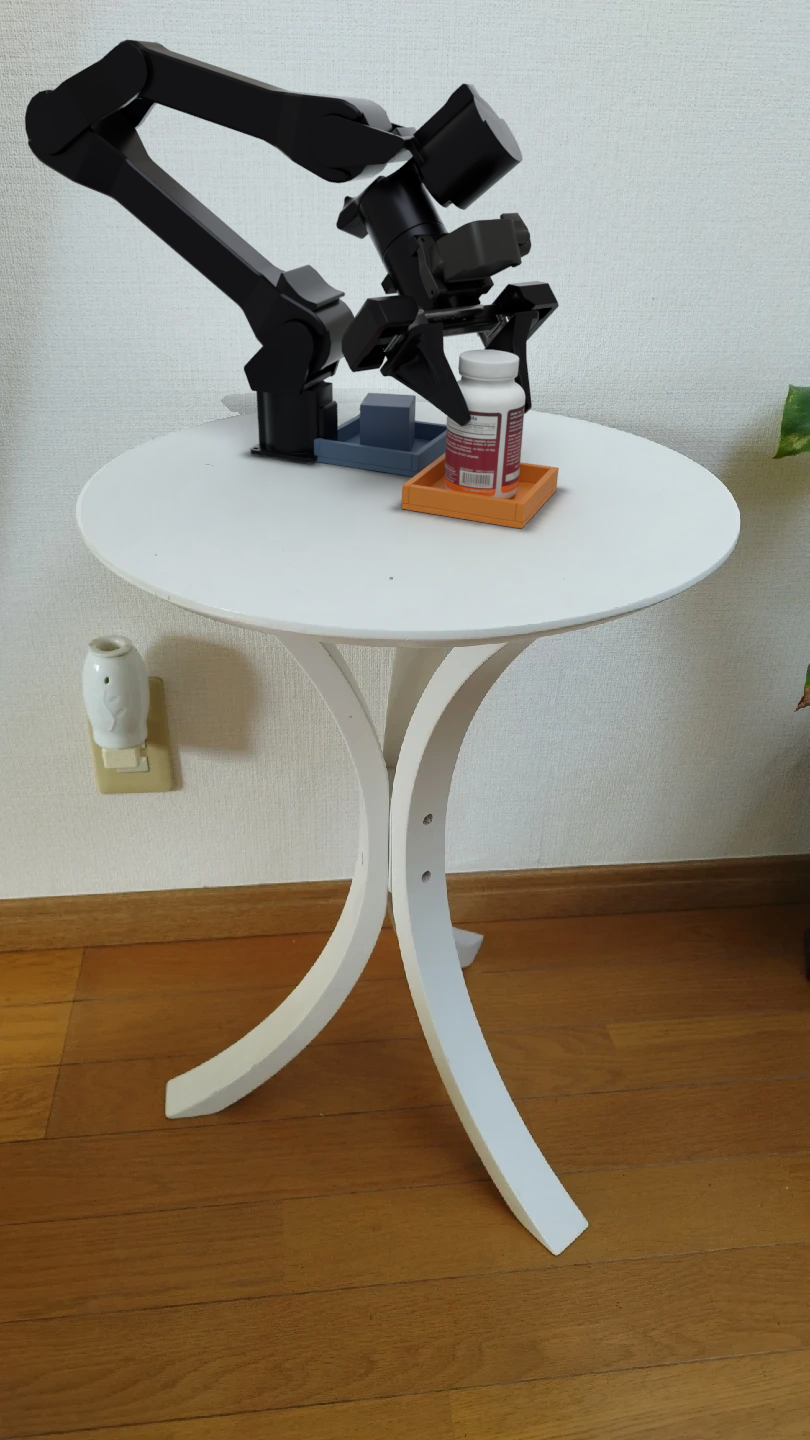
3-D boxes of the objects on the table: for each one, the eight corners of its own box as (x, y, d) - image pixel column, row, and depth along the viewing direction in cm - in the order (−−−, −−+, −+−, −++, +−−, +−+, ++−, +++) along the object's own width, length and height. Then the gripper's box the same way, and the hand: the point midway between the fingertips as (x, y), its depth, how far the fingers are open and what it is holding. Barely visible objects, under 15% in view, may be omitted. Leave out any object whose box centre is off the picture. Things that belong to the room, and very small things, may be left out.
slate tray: (314, 461, 93) (313, 439, 92) (360, 433, 101) (360, 413, 100) (417, 477, 89) (418, 455, 88) (457, 447, 97) (458, 426, 96)
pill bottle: (493, 477, 88) (504, 344, 82) (531, 499, 84) (545, 361, 78) (429, 485, 86) (436, 349, 80) (465, 509, 81) (475, 367, 75)
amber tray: (401, 509, 82) (402, 484, 81) (445, 473, 91) (446, 451, 89) (521, 528, 79) (524, 504, 78) (556, 490, 87) (558, 467, 86)
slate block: (359, 454, 93) (359, 404, 91) (367, 440, 97) (367, 392, 94) (408, 457, 93) (409, 407, 90) (414, 443, 96) (415, 395, 94)
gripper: (364, 174, 70) (460, 371, 68) (554, 170, 80) (641, 342, 79) (303, 281, 79) (386, 456, 78) (480, 265, 89) (557, 421, 88)
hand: (497, 417), depth 80 cm, fingers closed on pill bottle, 6 cm apart
